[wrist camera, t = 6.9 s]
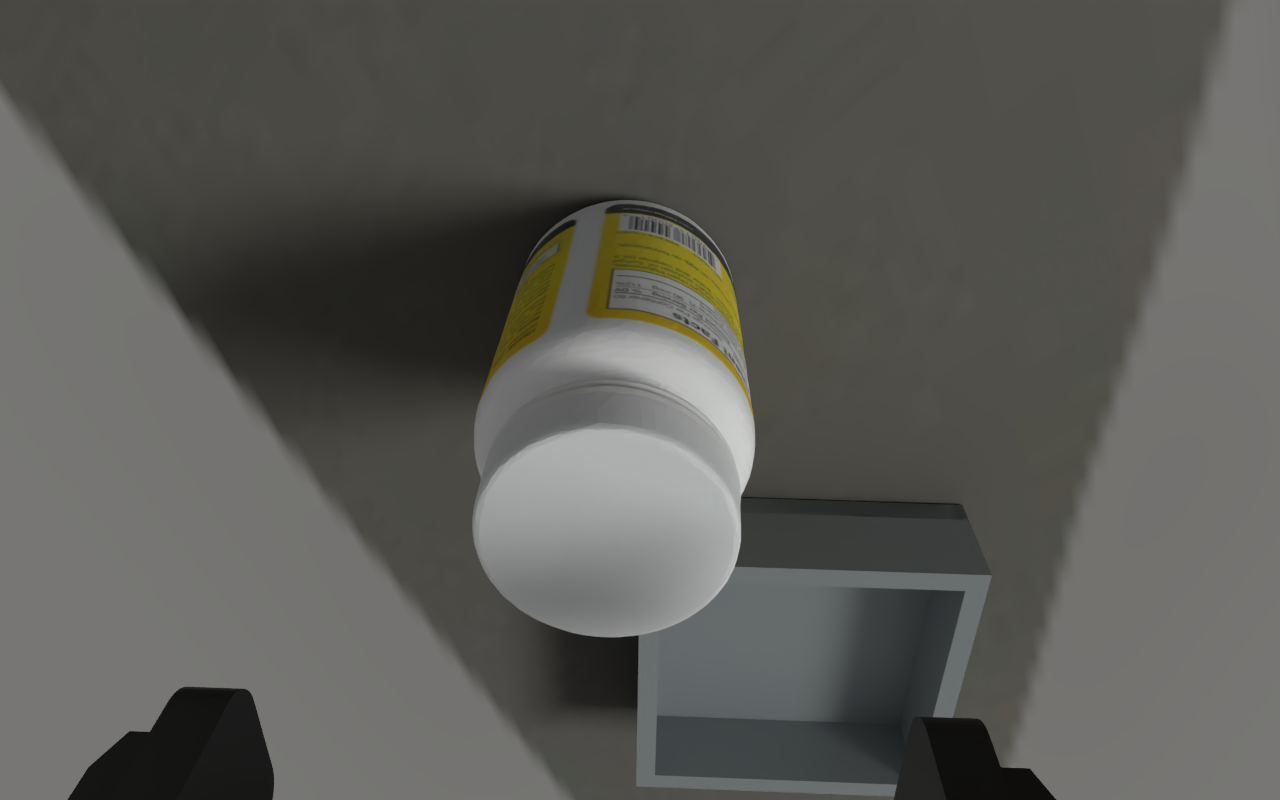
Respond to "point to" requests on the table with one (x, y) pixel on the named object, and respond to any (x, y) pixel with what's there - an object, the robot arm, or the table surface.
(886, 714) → the tray
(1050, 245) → the table surface
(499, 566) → the supplement bottle
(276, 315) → the table surface
